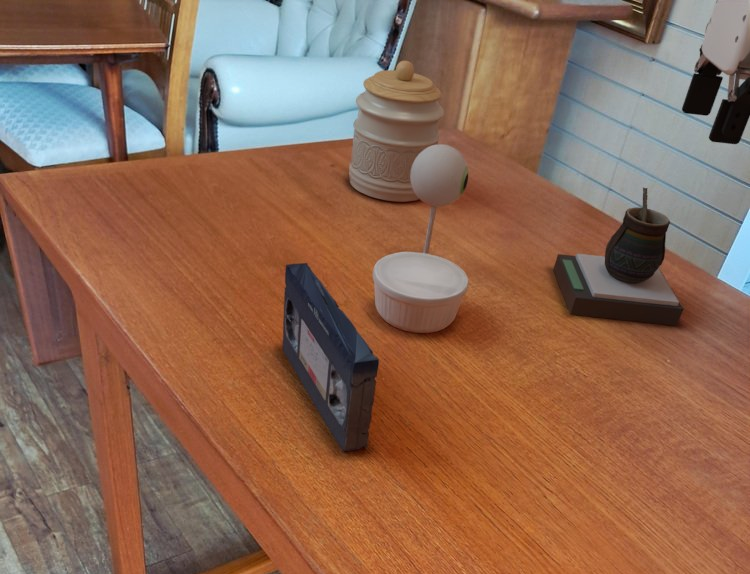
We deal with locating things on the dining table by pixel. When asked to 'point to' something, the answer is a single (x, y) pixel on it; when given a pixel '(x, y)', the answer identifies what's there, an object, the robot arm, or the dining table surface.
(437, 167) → the lollipop
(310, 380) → the vhs cassette tape
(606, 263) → the mate gourd
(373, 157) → the jar
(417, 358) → the dining table surface
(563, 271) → the scale
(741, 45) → the robot arm
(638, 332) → the dining table surface
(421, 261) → the ramekin
